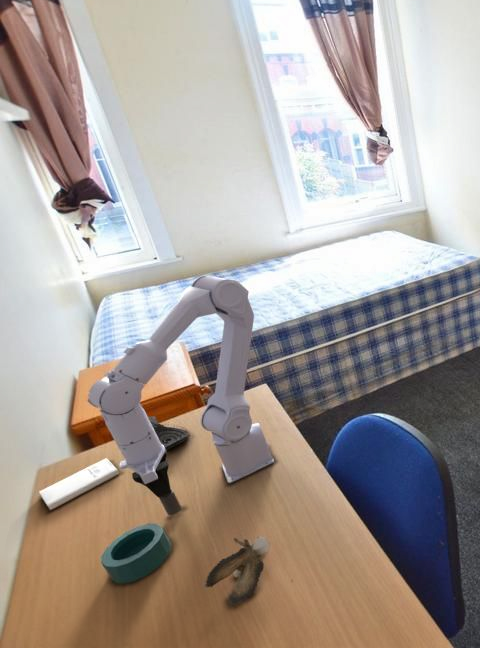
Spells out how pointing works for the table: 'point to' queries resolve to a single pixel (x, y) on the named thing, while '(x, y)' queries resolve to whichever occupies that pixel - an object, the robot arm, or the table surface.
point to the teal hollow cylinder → (136, 553)
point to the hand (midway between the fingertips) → (164, 490)
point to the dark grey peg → (170, 503)
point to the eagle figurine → (241, 569)
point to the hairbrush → (168, 434)
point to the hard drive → (78, 483)
